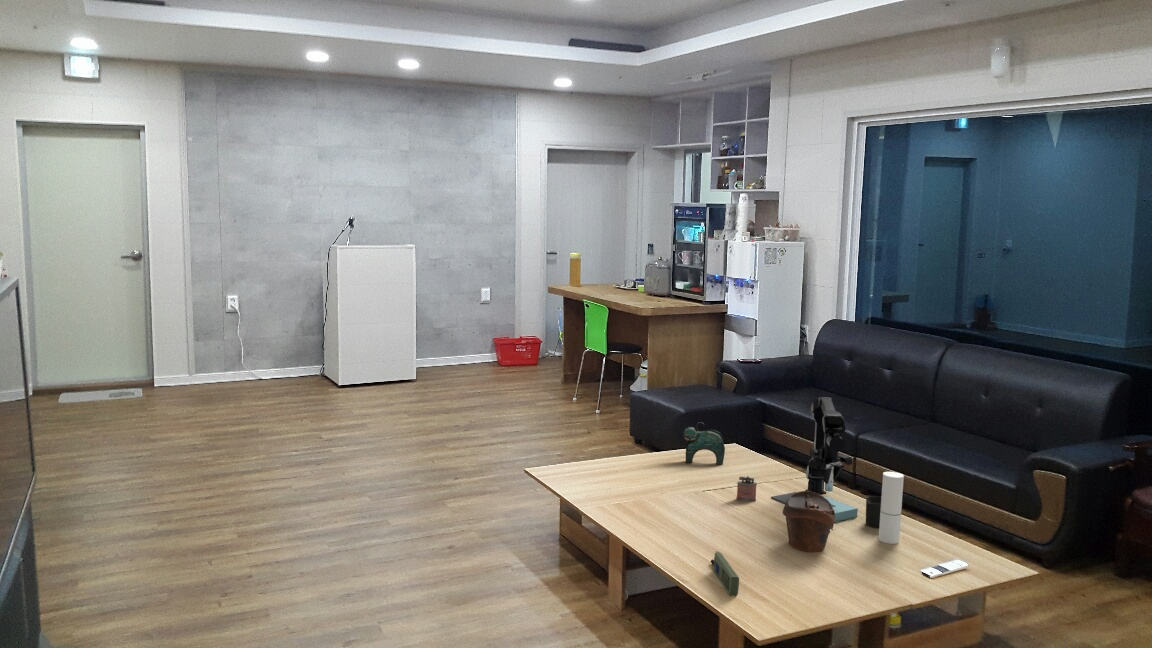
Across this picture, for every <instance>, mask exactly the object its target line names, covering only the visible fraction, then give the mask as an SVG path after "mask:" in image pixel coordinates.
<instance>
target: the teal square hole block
mask: <svg viewBox="0 0 1152 648" xmlns="http://www.w3.org/2000/svg"><path fill="white" fill-rule="evenodd" d="M823 497H824V498H826V499H827V500H828V501H829V502H830V503H831V505H832V507H833V509H834V511H835V519H834V523H835V522H841V521H845V520H849V519H854V518H858V513H859V511H858V509H859V508H857V507H855V506H852V505H850V504H847V503H845V502H843V501H839V500H838V499H834V498H832V497H829V496H823Z"/></svg>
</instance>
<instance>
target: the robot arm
mask: <svg viewBox="0 0 1152 648" xmlns="http://www.w3.org/2000/svg"><path fill="white" fill-rule="evenodd" d="M810 412H811V413H810V414H811V416H812V418H813V420H814V423H815V424H814V425H815V426H814V439H813V440H814V441H813V444H814V445H813V448H810V449H809V456H810V457H811V458H810V459H809V460H808V465H807V468H806V470H805V476H806V477H805V478H806V479H807V480H808V482H807V489H805V490H804V491H811V492H815V493H817V494H820V495H822V494H823V495H824V494H827V491H825V484H828V481H829V478H830V474H831V471H832V469H831V468H829V466H830V465H833V466H834V477H833V484H834V483H835V481H836V479H837V478H838V476H839V474H840V473H841V471H842V470H844V469H845V466H844V465H843V463H844V464H845V465H846V466H852V465H853V459H852V457H851V456H848V455H844V454H839V453H840V452H841V451H843V450H844V449H845V441H844V439H843V437H841V434H845V432H846V430H847V429H846V421H845V419H844V418H845V417H843V415H842V414H841V412H839V411H836V409H835V407H834V402H833V398H832V397H829V396H828V397H826V396H821V397H818V399H816V400H813V402H812V403H811V405H810Z"/></svg>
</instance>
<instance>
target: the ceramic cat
mask: <svg viewBox="0 0 1152 648" xmlns="http://www.w3.org/2000/svg"><path fill="white" fill-rule="evenodd" d="M698 424H703V425H705V423H704V422H702V421H701V422H700V421H699V422H697V424H696V425H698ZM682 433H683V434H682V437H683V439H684V440H685V441H686V442H687V443H686V444H685V445H686V446H685V464H692V463H693V462H694V457H695V454H696V453H697V452H700V451H702V450H703V451H705V450H706V451H710V452H712V453H713V454H714V456H715V463H716V465H717V466H723V465H724V459H725V453H726V447H725V444H724V441H723V440H724V437H723V435H722V433H721V432H720V431H717V429H716V430H715V429H707V430H703V431H701V430H699V429H698V428H695V427H692V426H688V425H687V426H685V429H684V431H683V432H682Z"/></svg>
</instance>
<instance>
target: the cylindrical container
mask: <svg viewBox="0 0 1152 648" xmlns="http://www.w3.org/2000/svg"><path fill="white" fill-rule="evenodd" d="M904 479H905V475H904V474H903V473H900V472H896V471H884V472H882V485H881V496H880V497H881V511H880V525H879V529H878V540H879V541H880V542H881V543H885V544H890V545H892V544H893V545H894V544H899V543H900V532H901V521H902V520H901V519H902V507H903V492H904V481H905V480H904Z"/></svg>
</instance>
